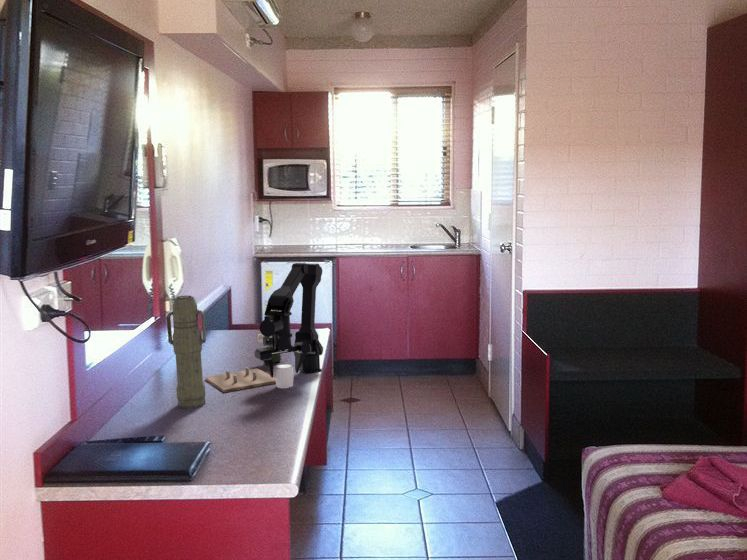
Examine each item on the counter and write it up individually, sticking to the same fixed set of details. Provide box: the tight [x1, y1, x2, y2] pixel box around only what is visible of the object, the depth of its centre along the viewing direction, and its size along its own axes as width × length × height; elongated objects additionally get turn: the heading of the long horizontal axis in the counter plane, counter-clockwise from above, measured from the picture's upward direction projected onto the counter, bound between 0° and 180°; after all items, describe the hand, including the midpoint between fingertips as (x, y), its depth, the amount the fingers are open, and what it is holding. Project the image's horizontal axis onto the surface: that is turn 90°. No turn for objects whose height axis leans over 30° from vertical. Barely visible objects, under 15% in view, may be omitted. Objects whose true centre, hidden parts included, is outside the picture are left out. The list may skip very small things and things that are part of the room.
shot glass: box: [273, 363, 295, 389], centre depth 269 cm, size 7×7×7 cm
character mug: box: [256, 333, 282, 363], centre depth 302 cm, size 11×7×13 cm, turn 92°
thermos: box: [165, 295, 207, 409], centre depth 250 cm, size 9×12×35 cm
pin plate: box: [204, 367, 276, 393], centre depth 277 cm, size 20×20×4 cm
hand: (284, 375), depth 269 cm, fingers open, 9 cm apart
